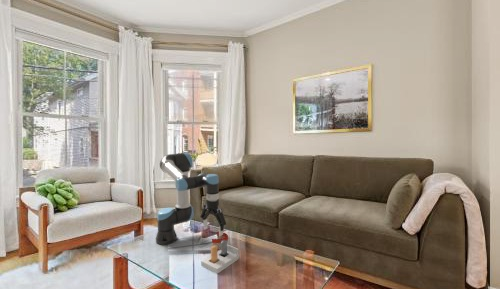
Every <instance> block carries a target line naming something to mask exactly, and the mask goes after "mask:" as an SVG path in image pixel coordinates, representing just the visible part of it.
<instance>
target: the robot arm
mask: <svg viewBox="0 0 500 289" xmlns="http://www.w3.org/2000/svg"><path fill="white" fill-rule="evenodd" d="M193 164H194V163H193V158H192V156H191V154H190V153H188V152H180V153H179V152H178V153H172V154H171V153H170V154H166V155H164V156H163V157H162V158H161V160H160V161H159V167H160V170H161V171H162V172H164V174H167V175H168V176H169V177H170V178H171V179H172V180H173V182H175V183H174V184H175V185H174V186H175V188H176V204H175V205H174V208H173V207H163V208H162V209H160V210H159V211H158V212H157V213H156V216H157V218H156V219H157V220H156V222H157V232H156V233H157V234H156V237H155V243H156V244H158V245H163V246H164V245H169V244H170V245H171V244H173V243H175V241H177V239H178V238H177V237H178V235H177V233H176V230H175V225H178V224H179V225H180V224H182V223H187V222H190V221H192V220H193V219H194V215H195V214H194V213H195V211H194V207H193V206H192V205H191V203H190V201H189V200H190V199H189V190H194V189H198V188H205V190H206V193H205V194H206V197H205V198H206V204H204V205H203V209H202V212H201V214H200V218H201V219H202V224H203V230H204V231H206V230H207V229H208V227H209V226H208V217H209V215H212V216H214V218H216V221H217V222H218V224H219V225H218V232H219V236H222V235H223V233H224V229H225V228H224V227H225V226H226V225H227V221H226V218H225V216H224V213H223V209H222V208H219V206H220V193H219V188H220V186H219V184H220V180H219V175H218V174H216V173H208V174H206V173H202V172H201V173H199V174H198V175H193V176H189V172H190V171H191V168H193V166H194V165H193Z"/></svg>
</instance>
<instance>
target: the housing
mask: <svg viewBox="0 0 500 289" xmlns="http://www.w3.org/2000/svg"><path fill="white" fill-rule="evenodd" d="M239 251H240V249H239V248H238V247H235V246H232V245H230V244H227V256H226V257H222V256H221V250H217V255H218V262H216V263H215V264H214V263H212V262H211V254H210V255H209V256H208V257H206V258H204V259H202V260H201V261H200V265H201V267H203V268H206V269H208V270H209V271H211V272H213V273H215V274H219V273H221V272H222V271H223V270H225V269H227V268H228V267H229V266H231V265H232V264H234V263H235V262H237V261H238V260H239V259H240V252H239Z"/></svg>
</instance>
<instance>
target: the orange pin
mask: <svg viewBox="0 0 500 289" xmlns="http://www.w3.org/2000/svg"><path fill="white" fill-rule="evenodd" d="M217 251H218V250H217V246H216V245H213V246H212V245H211V246H210V255H211V262H212V263H214V264H215V263H216V262H218V255H217Z"/></svg>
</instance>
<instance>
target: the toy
mask: <svg viewBox="0 0 500 289" xmlns="http://www.w3.org/2000/svg"><path fill="white" fill-rule="evenodd" d="M216 236H217V238H212V239H211V243H212V245H211V246H213V245H216V246H217V251H219V250H221V240H227V244H228V243H229V235H228V234H227V233H226V232H223V235H222V236H219V231H216ZM228 245H229V244H228Z"/></svg>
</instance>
